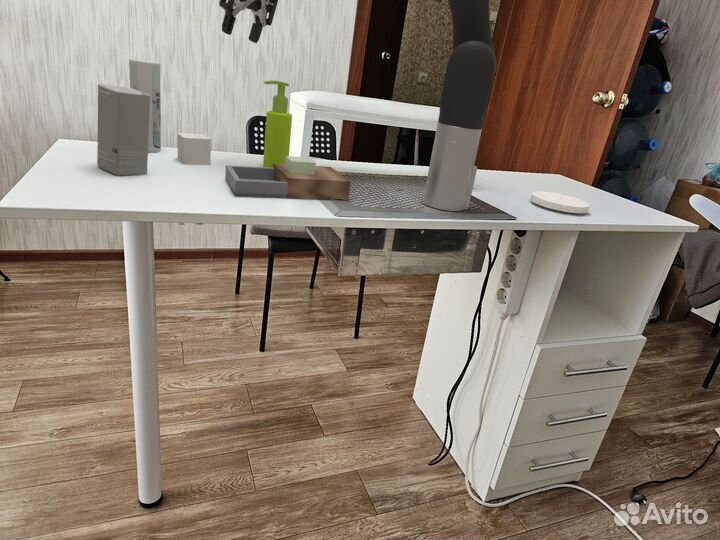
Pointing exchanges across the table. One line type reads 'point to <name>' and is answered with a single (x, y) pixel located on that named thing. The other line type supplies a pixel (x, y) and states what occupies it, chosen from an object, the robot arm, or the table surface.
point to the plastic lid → (560, 202)
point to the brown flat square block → (314, 183)
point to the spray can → (148, 82)
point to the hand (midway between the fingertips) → (239, 37)
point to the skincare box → (123, 130)
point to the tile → (300, 165)
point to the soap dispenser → (277, 128)
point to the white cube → (194, 149)
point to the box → (254, 182)
